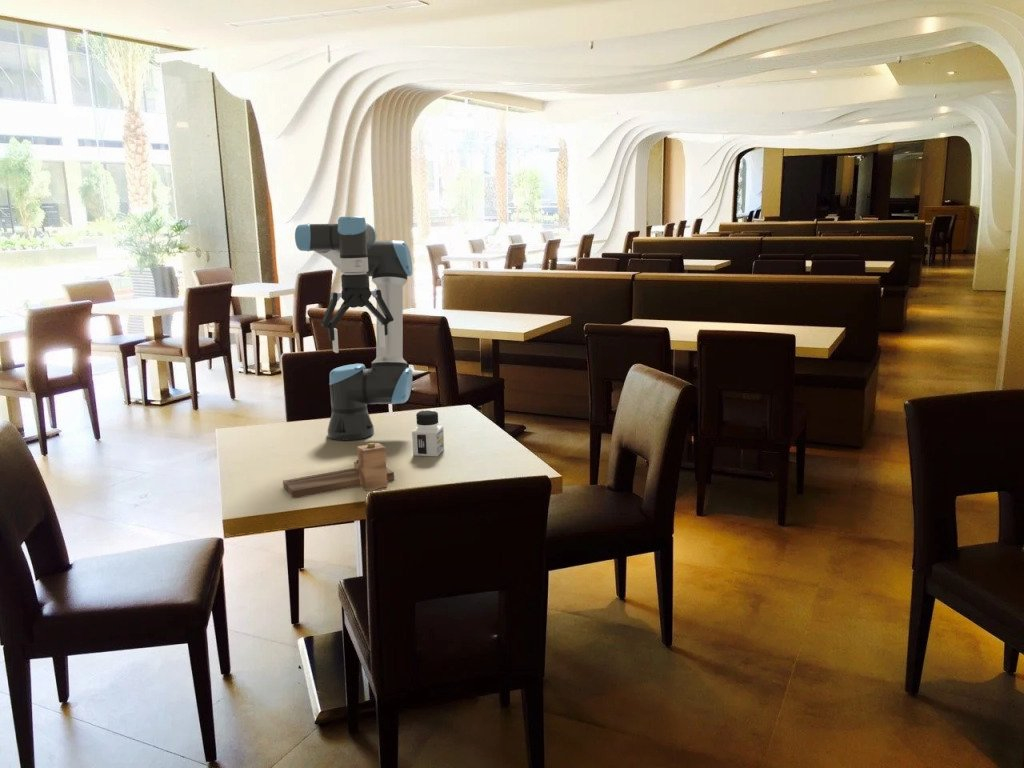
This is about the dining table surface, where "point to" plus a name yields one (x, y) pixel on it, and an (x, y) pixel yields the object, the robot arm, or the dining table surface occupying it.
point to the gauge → (371, 466)
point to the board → (325, 482)
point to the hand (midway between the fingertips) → (359, 349)
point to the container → (427, 434)
